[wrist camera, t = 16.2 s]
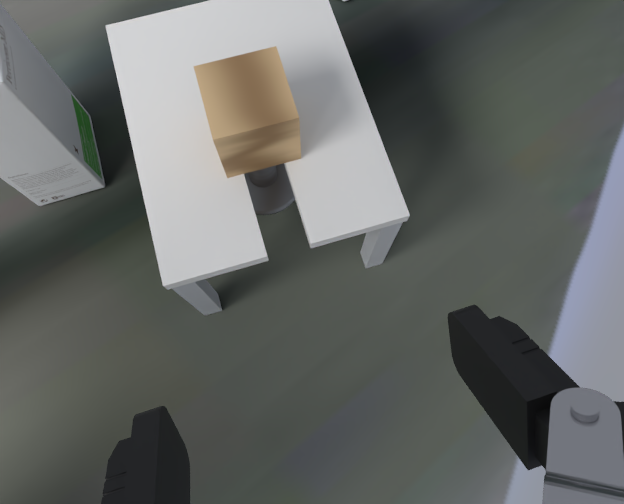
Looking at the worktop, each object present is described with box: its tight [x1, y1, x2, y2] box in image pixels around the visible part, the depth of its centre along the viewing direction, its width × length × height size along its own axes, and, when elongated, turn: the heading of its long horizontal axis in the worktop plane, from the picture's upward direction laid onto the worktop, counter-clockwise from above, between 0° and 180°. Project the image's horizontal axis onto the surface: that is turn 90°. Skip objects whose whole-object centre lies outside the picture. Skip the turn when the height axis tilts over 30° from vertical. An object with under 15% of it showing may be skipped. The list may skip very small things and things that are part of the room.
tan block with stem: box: [194, 46, 301, 215], centre depth 35 cm, size 6×6×12 cm
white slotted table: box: [106, 0, 410, 316], centre depth 40 cm, size 16×20×12 cm
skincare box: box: [0, 3, 105, 206], centre depth 39 cm, size 8×7×16 cm
